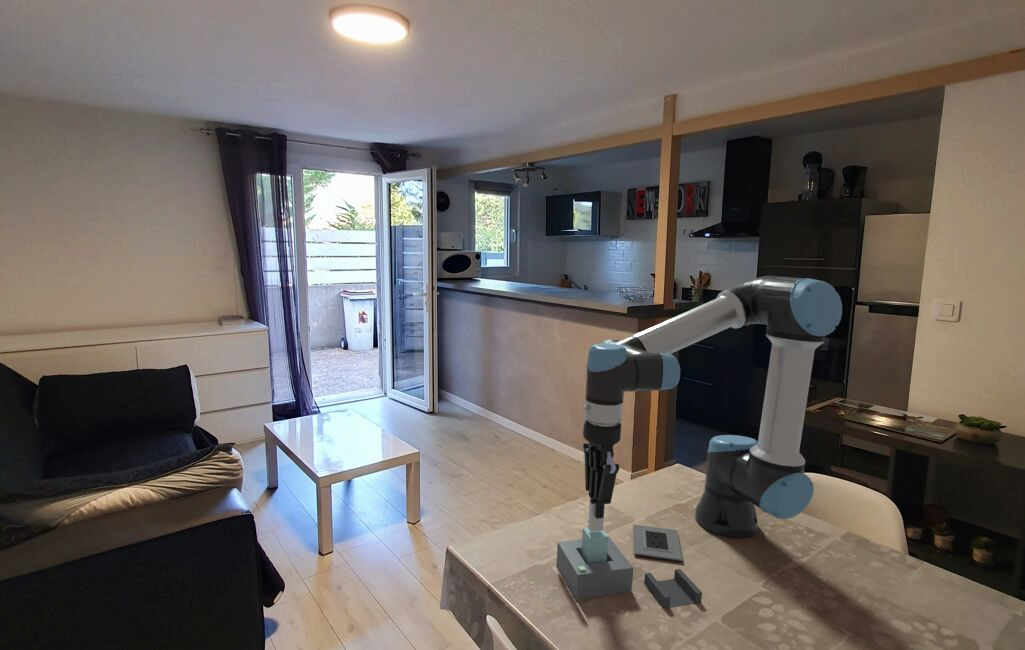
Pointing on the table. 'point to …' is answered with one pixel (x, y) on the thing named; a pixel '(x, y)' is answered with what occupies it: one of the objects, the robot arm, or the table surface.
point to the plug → (594, 546)
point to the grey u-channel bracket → (674, 590)
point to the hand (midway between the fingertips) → (595, 529)
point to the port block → (593, 571)
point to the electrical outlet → (656, 543)
